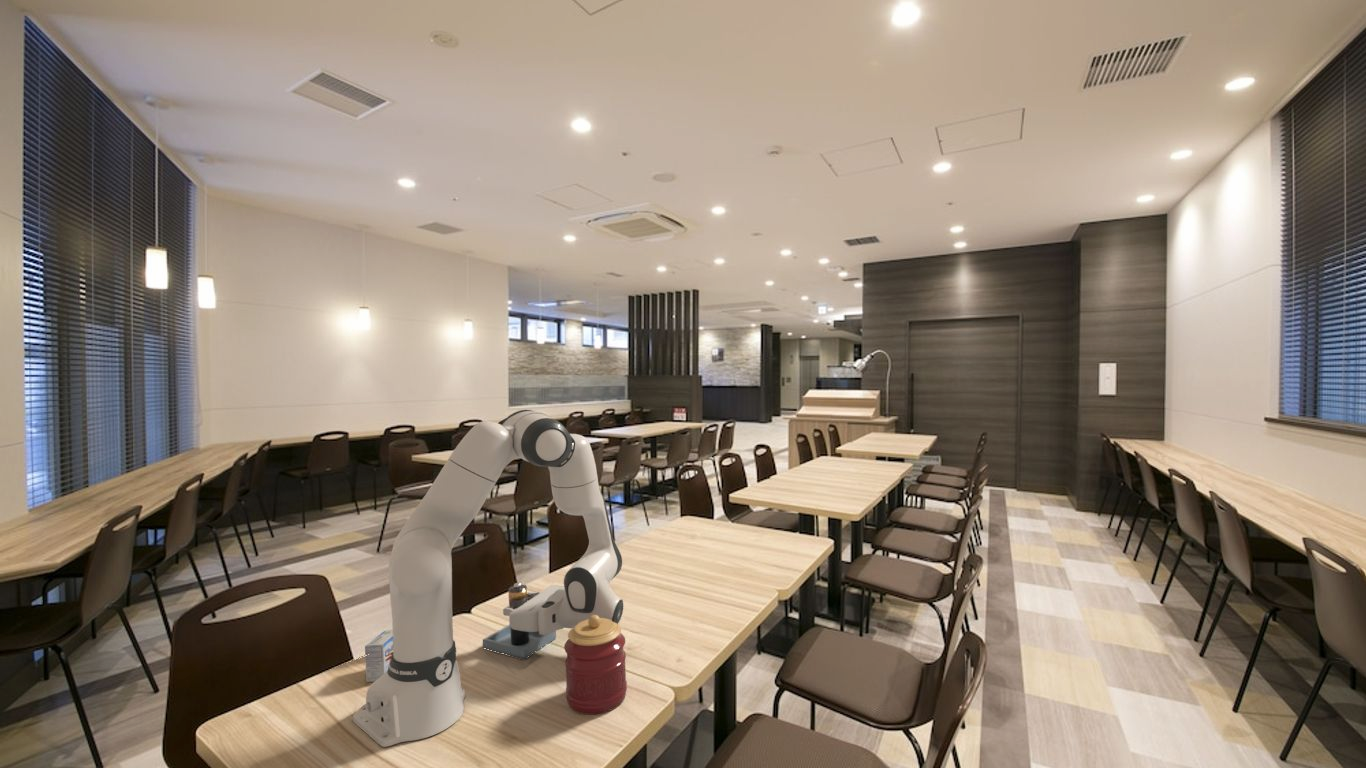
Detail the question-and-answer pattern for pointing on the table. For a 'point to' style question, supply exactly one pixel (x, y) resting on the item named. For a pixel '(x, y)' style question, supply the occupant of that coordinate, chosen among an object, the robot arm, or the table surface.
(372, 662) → the medicine box
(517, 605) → the battery cell
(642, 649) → the table surface
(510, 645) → the tray
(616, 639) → the canister
